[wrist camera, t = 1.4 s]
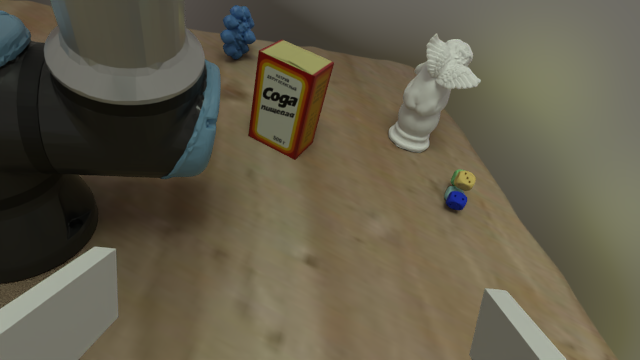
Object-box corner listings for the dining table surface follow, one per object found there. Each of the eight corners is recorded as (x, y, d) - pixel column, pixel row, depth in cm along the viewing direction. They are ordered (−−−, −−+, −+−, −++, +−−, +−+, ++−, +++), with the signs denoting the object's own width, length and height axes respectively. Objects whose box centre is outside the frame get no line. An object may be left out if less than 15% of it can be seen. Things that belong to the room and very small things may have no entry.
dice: (456, 218, 61) (476, 191, 57) (441, 212, 61) (459, 184, 57) (460, 190, 67) (478, 163, 63) (446, 184, 67) (463, 157, 63)
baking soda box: (248, 135, 64) (259, 48, 54) (268, 120, 69) (282, 37, 59) (295, 159, 62) (315, 73, 52) (312, 142, 67) (334, 60, 57)
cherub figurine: (414, 125, 81) (464, 24, 66) (452, 161, 73) (517, 57, 59) (370, 130, 75) (414, 21, 60) (407, 170, 67) (467, 57, 53)
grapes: (239, 74, 79) (244, 18, 71) (211, 63, 80) (214, 6, 72) (264, 57, 88) (271, 5, 80) (239, 47, 89) (243, -6, 81)
